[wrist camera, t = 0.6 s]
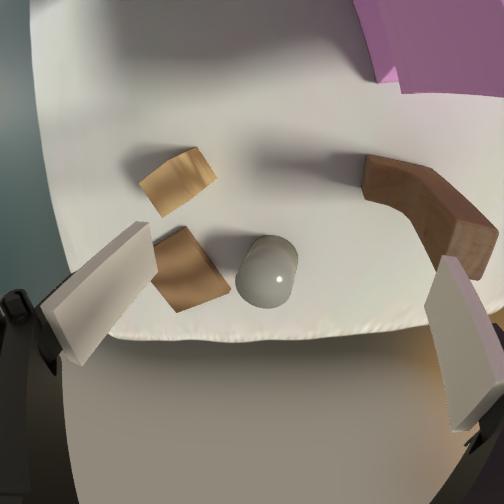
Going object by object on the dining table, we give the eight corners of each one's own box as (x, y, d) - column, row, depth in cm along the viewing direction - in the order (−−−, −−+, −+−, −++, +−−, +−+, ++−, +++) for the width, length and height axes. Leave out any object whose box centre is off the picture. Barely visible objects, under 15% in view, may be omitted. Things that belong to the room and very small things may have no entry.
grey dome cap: (240, 247, 43) (224, 273, 37) (282, 227, 40) (272, 252, 34) (265, 284, 45) (254, 314, 40) (306, 268, 42) (301, 298, 36)
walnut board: (138, 255, 49) (134, 259, 48) (186, 226, 44) (182, 229, 43) (179, 308, 53) (176, 313, 52) (231, 288, 47) (228, 293, 46)
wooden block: (360, 188, 35) (380, 265, 20) (366, 153, 33) (396, 206, 17) (425, 201, 33) (480, 283, 18) (433, 168, 31) (501, 231, 16)
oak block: (170, 166, 40) (138, 183, 33) (196, 146, 37) (167, 160, 31) (190, 195, 41) (162, 217, 34) (217, 177, 39) (192, 198, 32)
